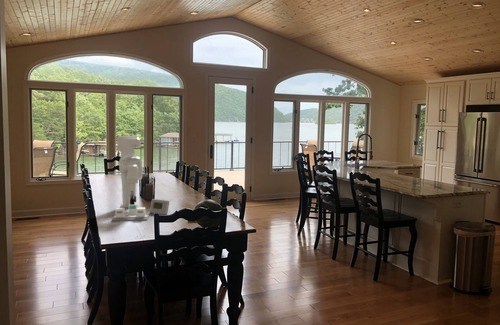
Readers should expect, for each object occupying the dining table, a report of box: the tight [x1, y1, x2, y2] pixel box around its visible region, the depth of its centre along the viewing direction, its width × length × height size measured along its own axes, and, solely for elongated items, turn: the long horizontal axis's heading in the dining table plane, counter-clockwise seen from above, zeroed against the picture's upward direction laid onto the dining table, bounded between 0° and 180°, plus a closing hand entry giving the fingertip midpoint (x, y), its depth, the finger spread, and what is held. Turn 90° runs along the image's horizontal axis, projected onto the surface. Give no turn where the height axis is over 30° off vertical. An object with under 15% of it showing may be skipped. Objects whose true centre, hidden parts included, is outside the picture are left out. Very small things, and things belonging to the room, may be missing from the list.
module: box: [128, 203, 139, 215], centre depth 312 cm, size 5×6×8 cm
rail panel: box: [111, 206, 150, 222], centre depth 299 cm, size 13×25×8 cm, turn 98°
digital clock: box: [149, 198, 170, 215], centre depth 317 cm, size 16×9×11 cm, turn 58°
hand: (133, 203), depth 311 cm, fingers open, 9 cm apart
